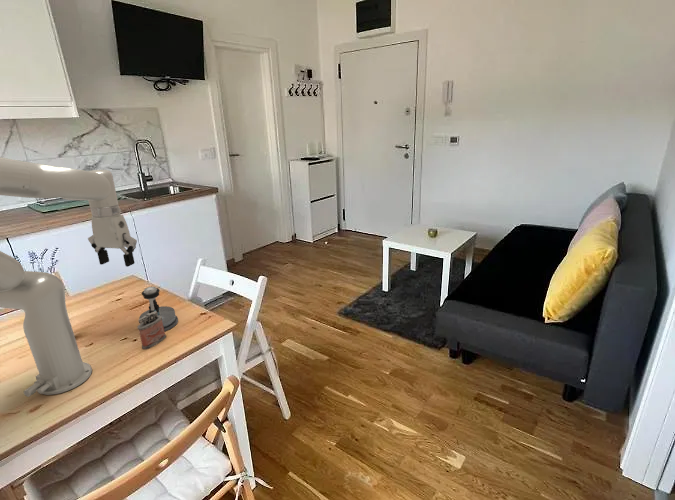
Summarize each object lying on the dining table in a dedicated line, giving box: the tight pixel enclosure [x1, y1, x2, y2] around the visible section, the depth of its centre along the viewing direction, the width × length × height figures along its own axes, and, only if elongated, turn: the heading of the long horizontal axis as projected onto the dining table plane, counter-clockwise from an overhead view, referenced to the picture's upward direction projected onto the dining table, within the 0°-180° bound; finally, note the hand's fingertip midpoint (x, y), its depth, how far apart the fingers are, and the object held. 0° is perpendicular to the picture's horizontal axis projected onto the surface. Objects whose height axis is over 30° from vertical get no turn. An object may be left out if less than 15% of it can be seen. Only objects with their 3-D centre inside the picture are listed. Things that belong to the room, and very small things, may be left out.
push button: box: [141, 286, 161, 316], centre depth 127 cm, size 7×5×10 cm
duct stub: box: [138, 305, 179, 332], centre depth 130 cm, size 12×12×4 cm
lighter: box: [136, 311, 167, 350], centre depth 119 cm, size 8×3×10 cm, turn 154°
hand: (117, 264), depth 122 cm, fingers open, 9 cm apart
